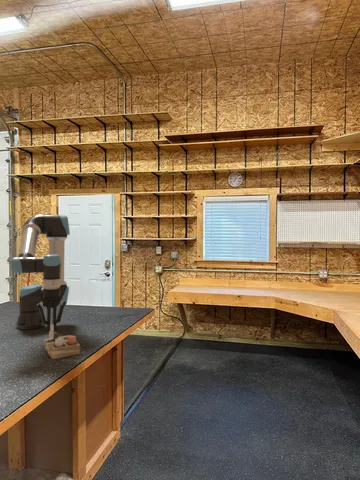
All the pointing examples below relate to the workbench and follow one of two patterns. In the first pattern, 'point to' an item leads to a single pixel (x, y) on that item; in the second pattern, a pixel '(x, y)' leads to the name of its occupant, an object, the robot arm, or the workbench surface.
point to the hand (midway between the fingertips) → (51, 337)
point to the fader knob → (55, 335)
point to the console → (61, 348)
